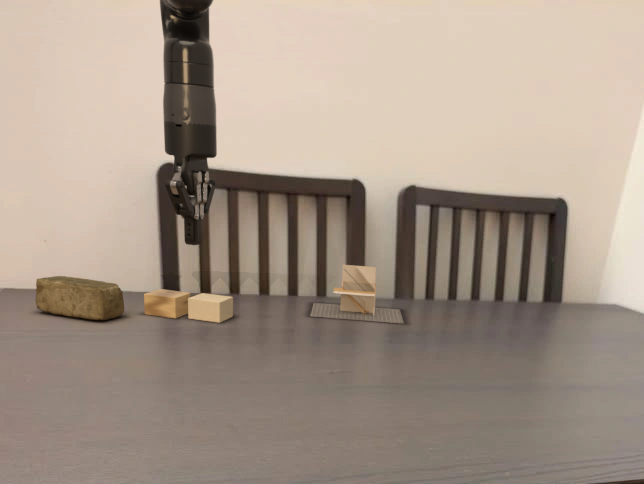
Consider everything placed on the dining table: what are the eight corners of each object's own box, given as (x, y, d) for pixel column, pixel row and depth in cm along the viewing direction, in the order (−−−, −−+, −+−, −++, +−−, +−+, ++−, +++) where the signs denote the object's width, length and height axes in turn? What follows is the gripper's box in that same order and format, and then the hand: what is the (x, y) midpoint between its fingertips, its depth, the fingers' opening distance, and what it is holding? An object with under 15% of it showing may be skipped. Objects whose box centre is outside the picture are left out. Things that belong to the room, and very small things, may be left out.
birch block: (144, 314, 108) (143, 293, 107) (160, 308, 112) (160, 288, 111) (175, 318, 107) (175, 298, 106) (190, 312, 112) (190, 292, 110)
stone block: (104, 324, 101) (101, 287, 98) (32, 313, 103) (28, 277, 101) (127, 316, 106) (125, 281, 104) (58, 307, 108) (55, 272, 106)
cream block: (188, 318, 108) (187, 298, 106) (202, 312, 112) (202, 292, 111) (219, 322, 107) (219, 302, 106) (233, 316, 111) (233, 296, 110)
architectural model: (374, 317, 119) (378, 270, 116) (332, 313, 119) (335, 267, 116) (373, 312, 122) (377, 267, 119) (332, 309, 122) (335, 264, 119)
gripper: (186, 121, 113) (189, 238, 120) (144, 116, 101) (150, 246, 108) (232, 125, 112) (232, 242, 119) (194, 120, 100) (196, 251, 107)
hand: (193, 244), depth 114 cm, fingers closed
